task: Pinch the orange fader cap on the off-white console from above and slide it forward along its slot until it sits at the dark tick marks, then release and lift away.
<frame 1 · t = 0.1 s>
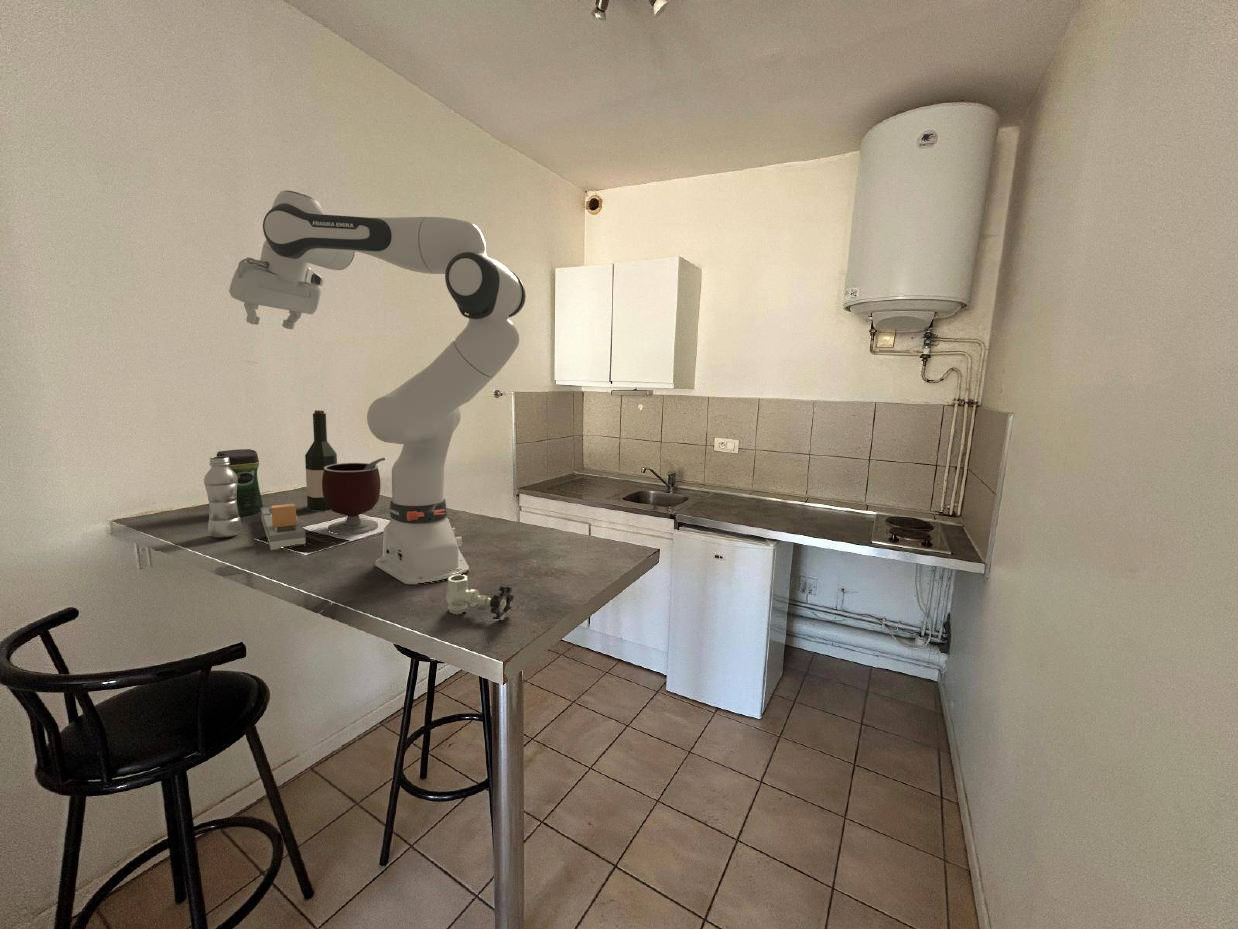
hand: (270, 325, 113), 52 cm above the counter, tool tilted 20°, fingers open, 8 cm apart
wine bottle: (323, 508, 152), on the counter
fader knob: (284, 518, 122), point 5 cm above the counter, slide at -7.0 cm
mate gourd: (356, 528, 135), on the counter
silver ridged bottle: (225, 537, 122), on the counter
coffee jar: (241, 513, 141), on the counter
valve: (475, 616, 91), on the counter
console: (282, 531, 128), on the counter
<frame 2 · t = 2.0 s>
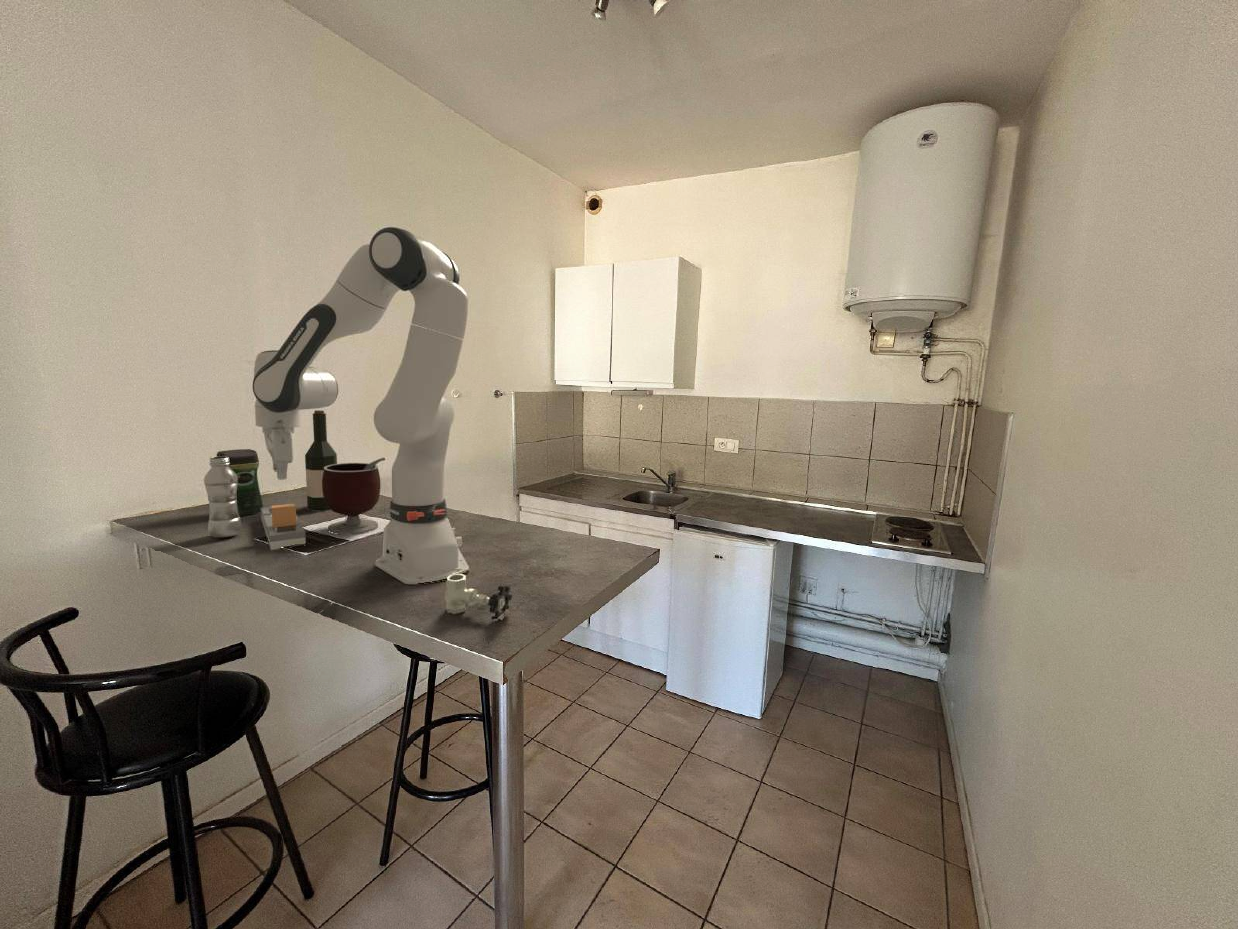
hand: (279, 475, 120), 16 cm above the counter, tool pointing down, fingers open, 8 cm apart
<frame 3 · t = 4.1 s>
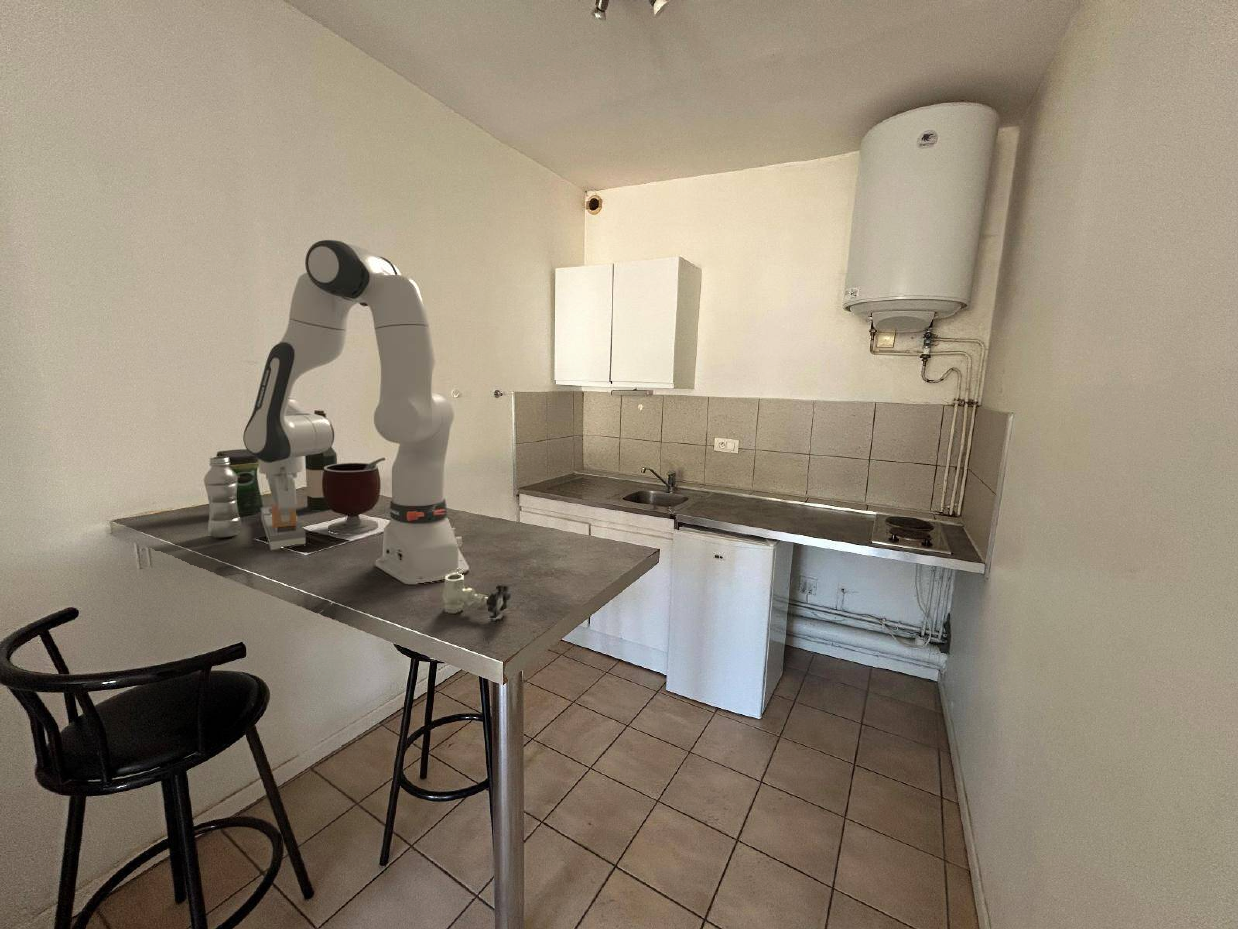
hand: (284, 519, 122), 5 cm above the counter, tool pointing down, fingers closed on fader knob, 2 cm apart
fader knob: (284, 518, 122), point 5 cm above the counter, slide at -7.0 cm, touching gripper
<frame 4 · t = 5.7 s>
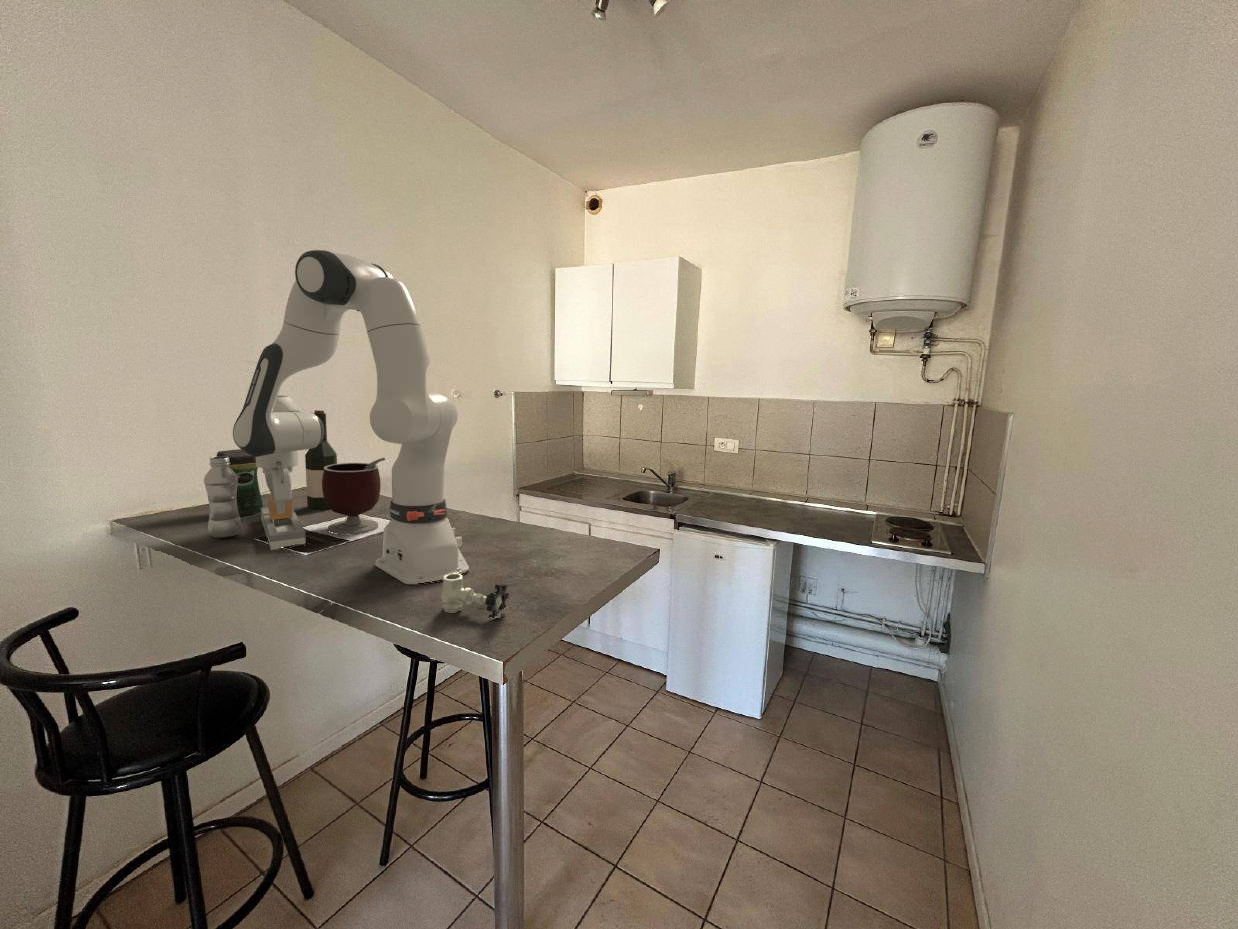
hand: (280, 511, 127), 5 cm above the counter, tool pointing down, fingers closed on fader knob, 2 cm apart
fader knob: (280, 511, 128), point 5 cm above the counter, slide at 0.6 cm, touching gripper
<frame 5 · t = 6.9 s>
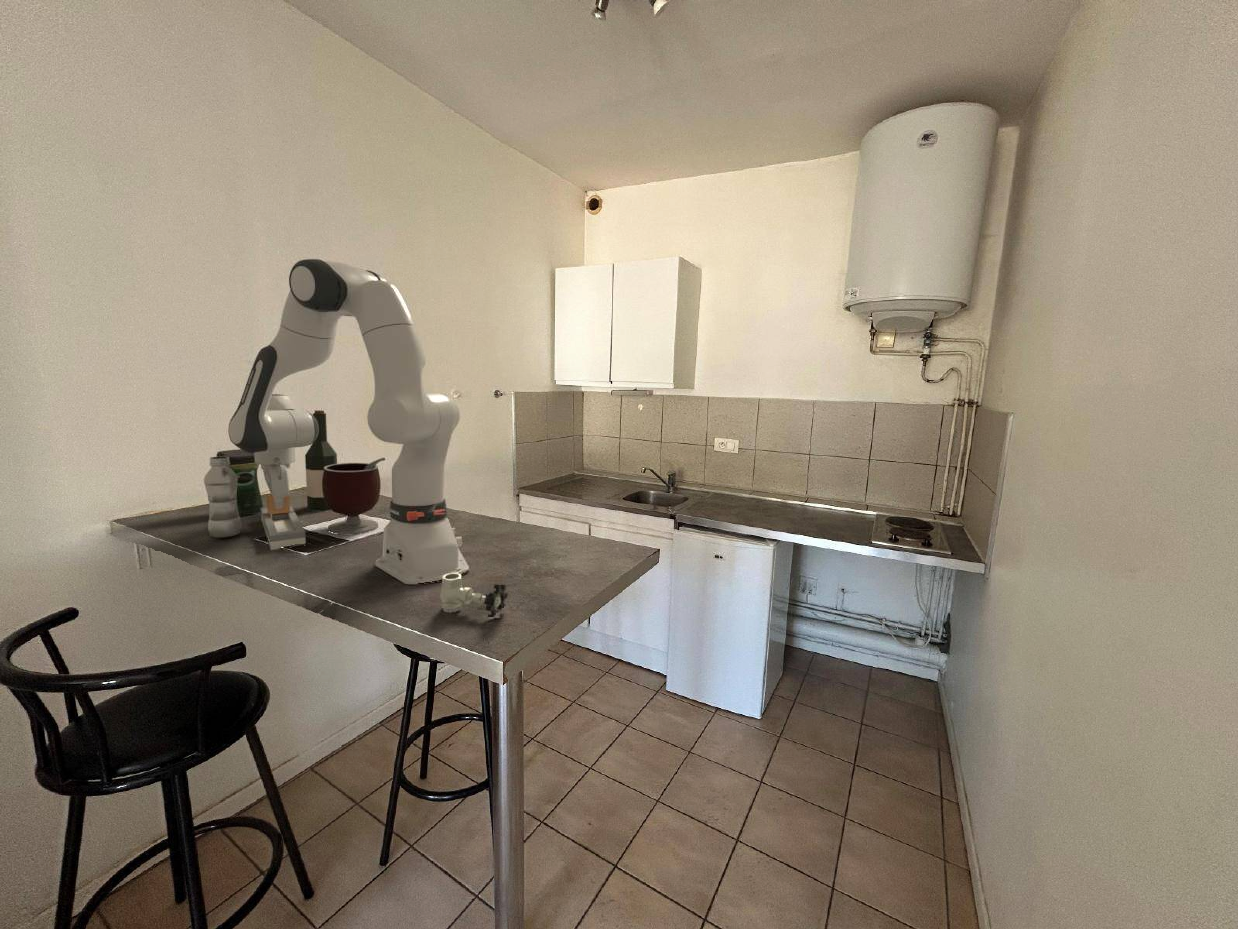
hand: (277, 506, 132), 5 cm above the counter, tool pointing down, fingers closed on fader knob, 2 cm apart
fader knob: (278, 506, 132), point 5 cm above the counter, slide at 6.0 cm, touching gripper
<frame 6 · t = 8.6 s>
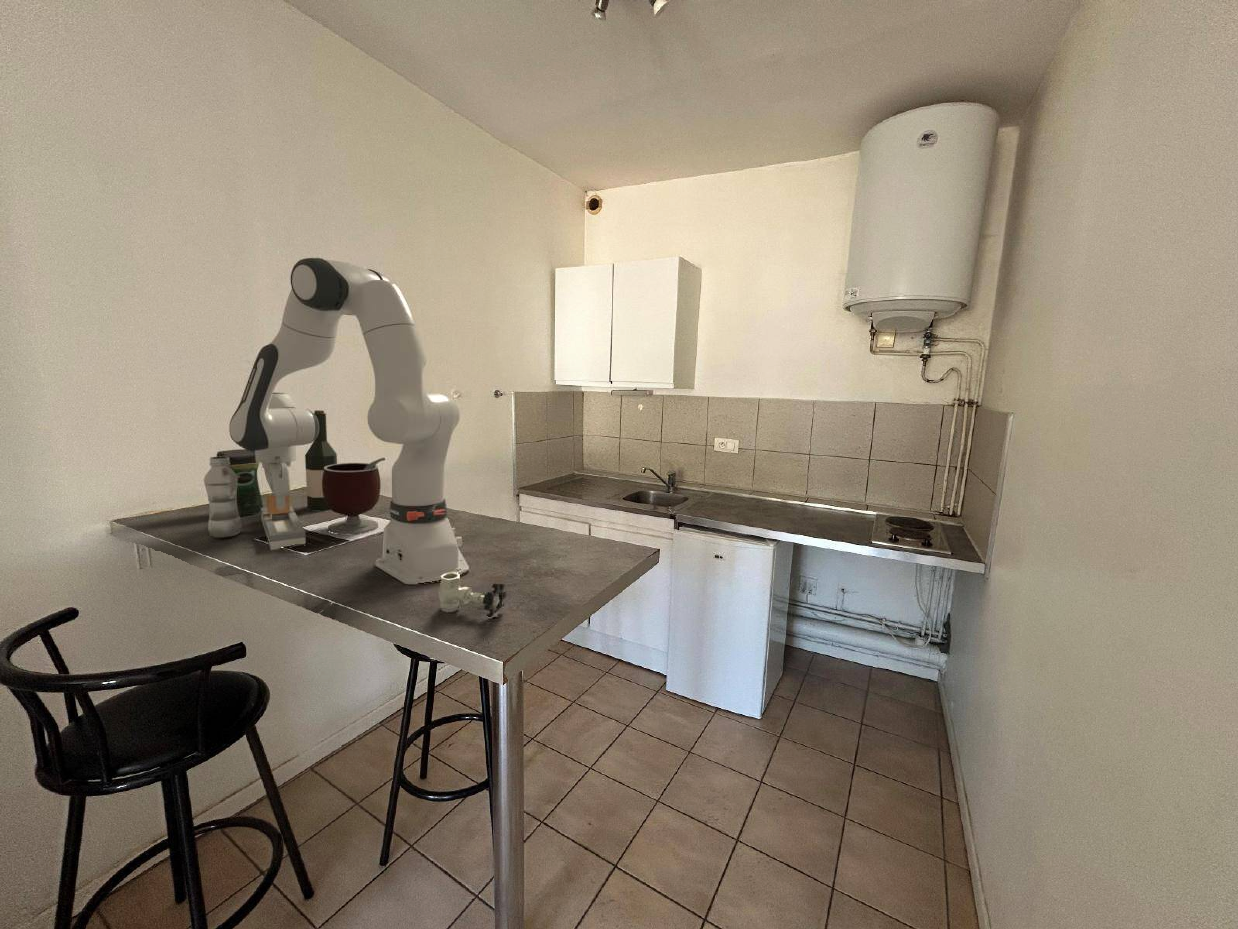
hand: (279, 505, 132), 6 cm above the counter, tool pointing down, fingers open, 8 cm apart
fader knob: (278, 506, 132), point 5 cm above the counter, slide at 5.9 cm
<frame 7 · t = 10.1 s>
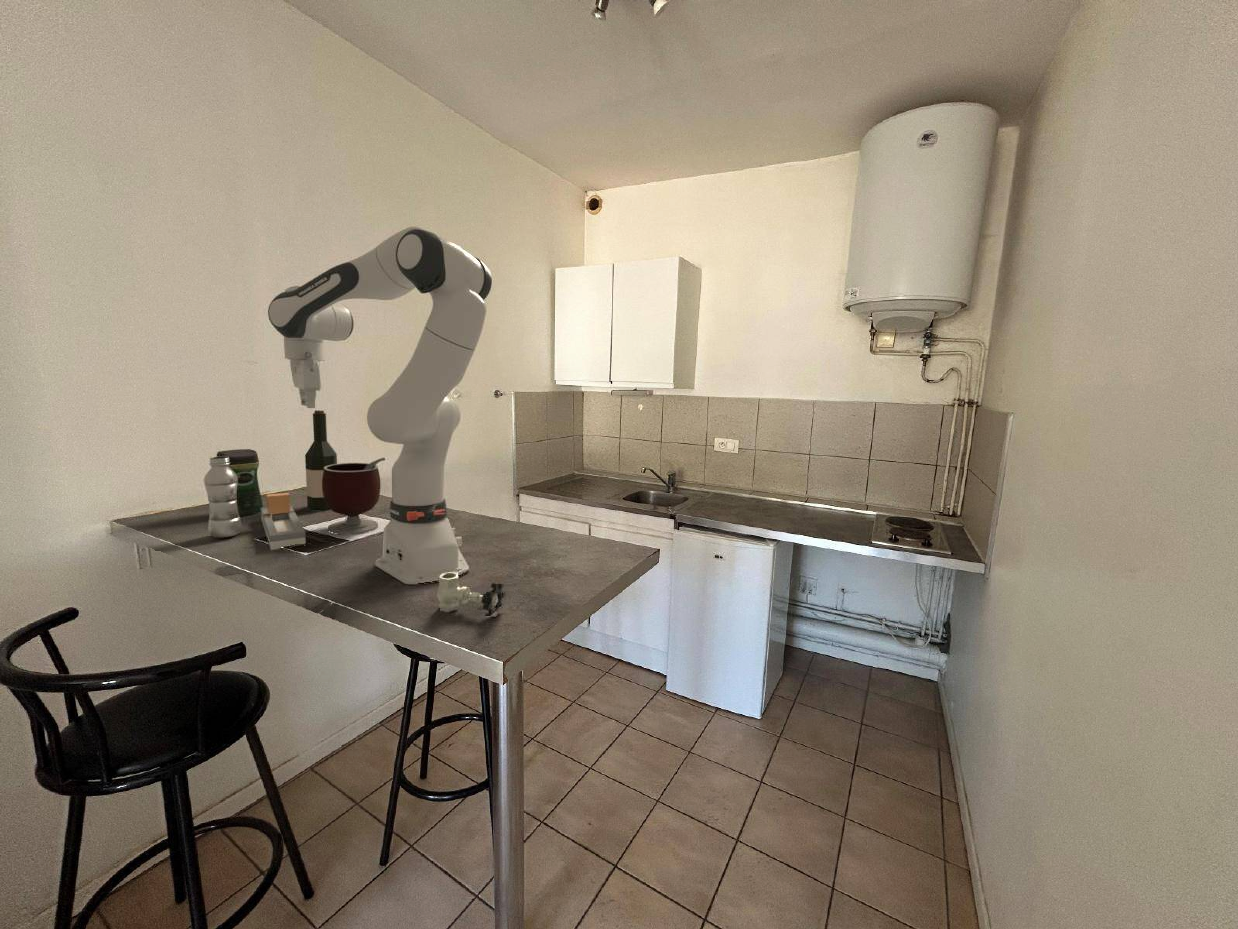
hand: (308, 406, 129), 33 cm above the counter, tool pointing down, fingers open, 8 cm apart
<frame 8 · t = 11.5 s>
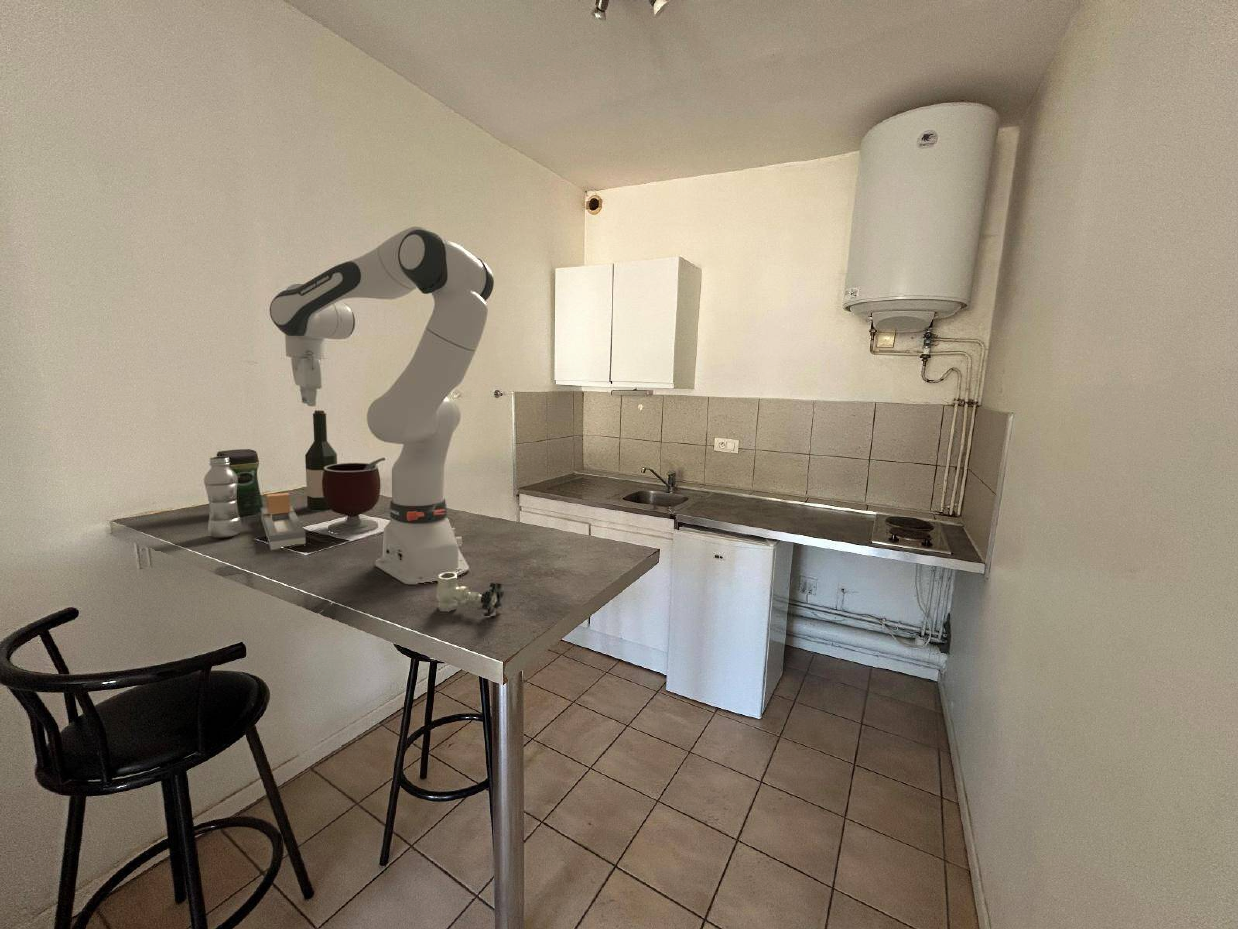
hand: (308, 404, 129), 33 cm above the counter, tool pointing down, fingers open, 8 cm apart
at the end: fader knob slide at 5.9 cm; the gripper is holding nothing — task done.
